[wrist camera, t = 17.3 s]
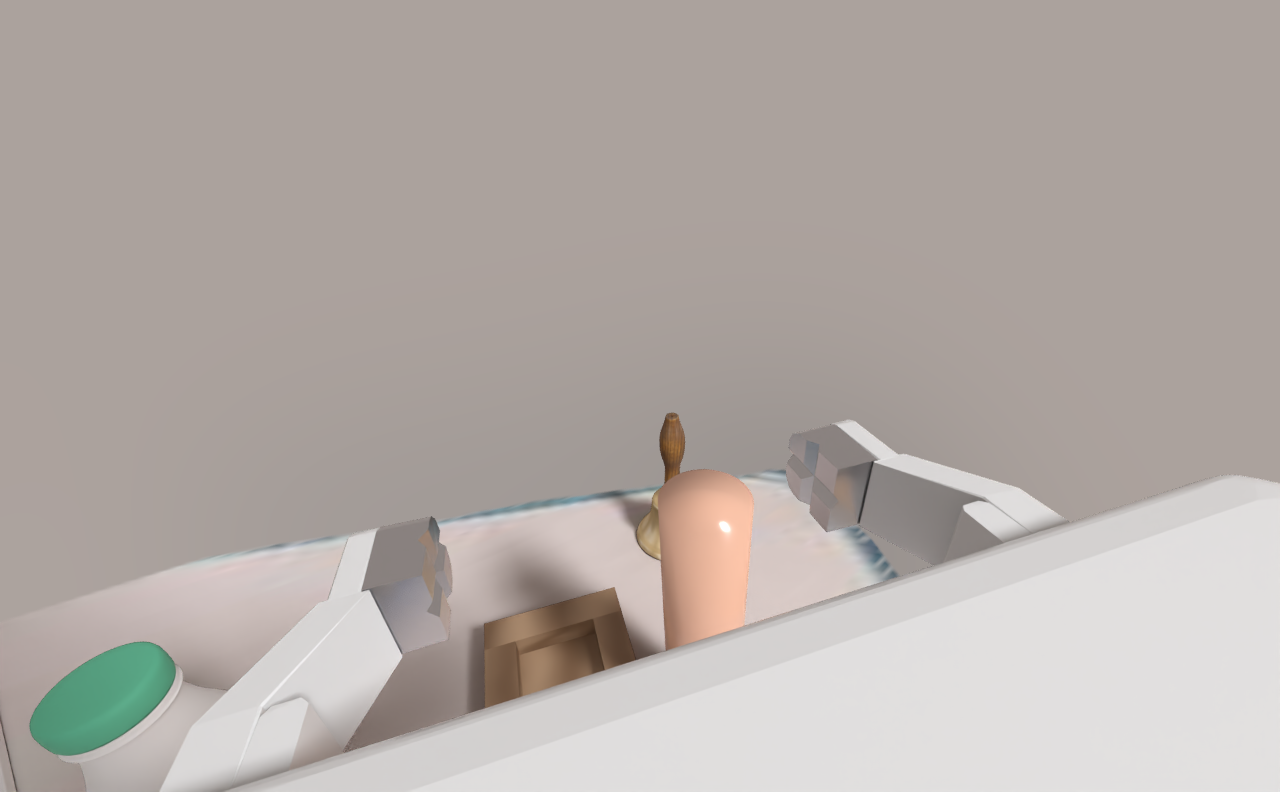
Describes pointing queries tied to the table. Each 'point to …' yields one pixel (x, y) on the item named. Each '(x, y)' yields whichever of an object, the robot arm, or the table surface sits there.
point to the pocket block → (554, 646)
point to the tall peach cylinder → (704, 554)
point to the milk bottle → (122, 717)
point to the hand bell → (672, 457)
